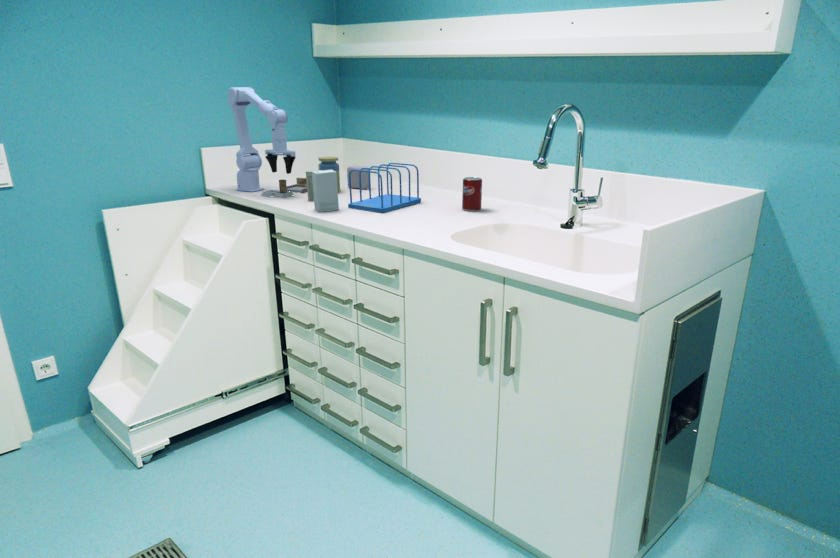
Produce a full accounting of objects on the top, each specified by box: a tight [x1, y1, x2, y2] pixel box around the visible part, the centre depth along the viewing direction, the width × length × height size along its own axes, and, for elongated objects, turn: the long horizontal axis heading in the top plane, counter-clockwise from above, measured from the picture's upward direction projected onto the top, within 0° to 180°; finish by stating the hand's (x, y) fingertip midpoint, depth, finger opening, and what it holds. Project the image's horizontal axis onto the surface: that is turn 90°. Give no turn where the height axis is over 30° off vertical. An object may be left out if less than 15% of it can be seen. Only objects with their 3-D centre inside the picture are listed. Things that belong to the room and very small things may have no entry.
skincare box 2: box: [312, 170, 340, 213], centre depth 221 cm, size 8×6×15 cm
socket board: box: [261, 189, 295, 199], centre depth 251 cm, size 12×7×2 cm, turn 63°
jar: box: [317, 156, 341, 193], centre depth 257 cm, size 9×9×15 cm
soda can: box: [461, 176, 483, 212], centre depth 223 cm, size 7×7×12 cm
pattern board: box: [286, 183, 308, 194], centre depth 266 cm, size 11×19×2 cm, turn 153°
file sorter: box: [348, 162, 422, 214], centre depth 230 cm, size 25×17×15 cm
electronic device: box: [346, 164, 370, 190], centre depth 267 cm, size 10×5×10 cm, turn 58°
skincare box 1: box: [305, 169, 323, 202], centre depth 240 cm, size 6×4×12 cm
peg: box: [278, 179, 288, 194], centre depth 249 cm, size 3×3×6 cm
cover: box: [295, 177, 307, 187], centre depth 269 cm, size 9×9×3 cm
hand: (281, 172), depth 247 cm, fingers open, 7 cm apart
